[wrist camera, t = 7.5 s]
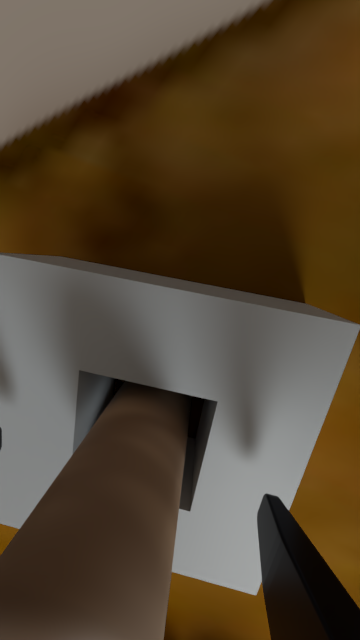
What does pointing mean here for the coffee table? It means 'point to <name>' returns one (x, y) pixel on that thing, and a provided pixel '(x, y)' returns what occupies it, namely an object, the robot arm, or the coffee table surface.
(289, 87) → the coffee table surface
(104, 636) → the long dowel
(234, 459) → the socket block
